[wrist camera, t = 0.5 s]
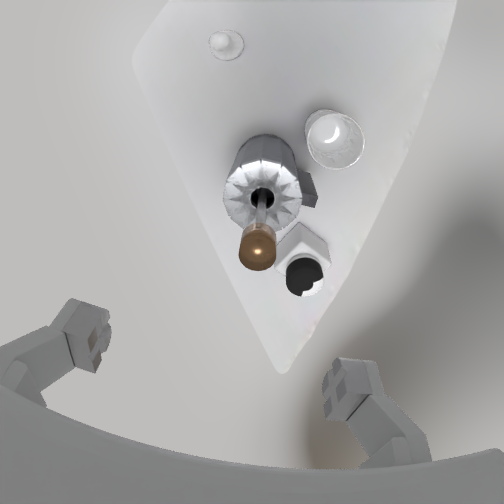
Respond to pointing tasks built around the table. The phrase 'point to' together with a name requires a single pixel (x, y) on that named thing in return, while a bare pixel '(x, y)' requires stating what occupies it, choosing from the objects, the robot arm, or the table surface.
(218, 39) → the chess pawn
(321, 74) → the table surface
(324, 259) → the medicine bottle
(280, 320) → the table surface
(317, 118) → the white cup
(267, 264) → the plunger
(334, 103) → the table surface
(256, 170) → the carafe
